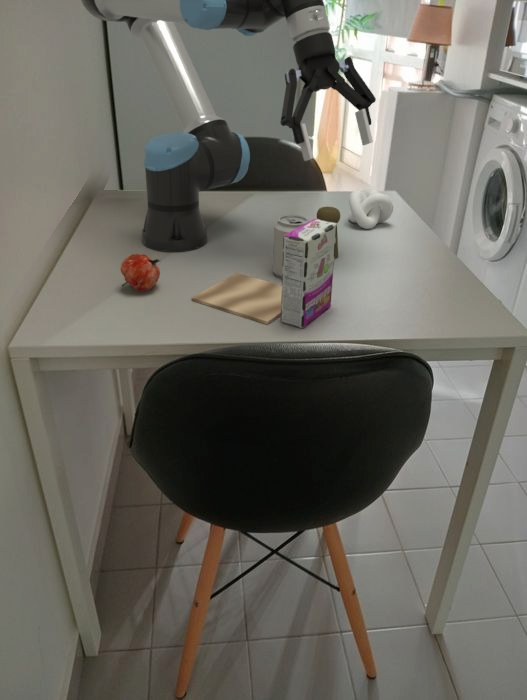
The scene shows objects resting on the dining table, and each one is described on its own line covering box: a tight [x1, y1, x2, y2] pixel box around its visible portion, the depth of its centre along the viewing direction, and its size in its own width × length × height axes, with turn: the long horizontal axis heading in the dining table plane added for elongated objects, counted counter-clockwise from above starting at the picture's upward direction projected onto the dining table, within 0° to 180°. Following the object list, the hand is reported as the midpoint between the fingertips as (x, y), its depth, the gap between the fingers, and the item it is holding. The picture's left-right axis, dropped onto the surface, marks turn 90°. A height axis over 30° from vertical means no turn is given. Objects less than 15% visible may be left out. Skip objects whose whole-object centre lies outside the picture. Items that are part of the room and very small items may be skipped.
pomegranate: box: [119, 253, 161, 292], centre depth 118 cm, size 7×7×10 cm
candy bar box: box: [280, 218, 338, 329], centre depth 107 cm, size 11×5×16 cm, turn 148°
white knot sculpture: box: [347, 186, 394, 230], centre depth 156 cm, size 11×12×9 cm
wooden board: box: [191, 272, 282, 325], centre depth 117 cm, size 17×15×1 cm
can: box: [272, 214, 310, 279], centre depth 125 cm, size 8×8×12 cm
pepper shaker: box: [316, 206, 341, 261], centre depth 135 cm, size 6×6×11 cm
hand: (338, 151), depth 119 cm, fingers open, 13 cm apart
